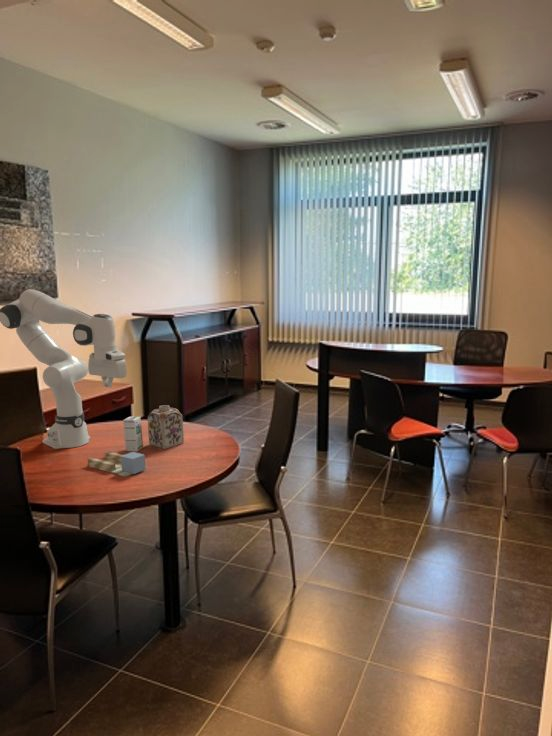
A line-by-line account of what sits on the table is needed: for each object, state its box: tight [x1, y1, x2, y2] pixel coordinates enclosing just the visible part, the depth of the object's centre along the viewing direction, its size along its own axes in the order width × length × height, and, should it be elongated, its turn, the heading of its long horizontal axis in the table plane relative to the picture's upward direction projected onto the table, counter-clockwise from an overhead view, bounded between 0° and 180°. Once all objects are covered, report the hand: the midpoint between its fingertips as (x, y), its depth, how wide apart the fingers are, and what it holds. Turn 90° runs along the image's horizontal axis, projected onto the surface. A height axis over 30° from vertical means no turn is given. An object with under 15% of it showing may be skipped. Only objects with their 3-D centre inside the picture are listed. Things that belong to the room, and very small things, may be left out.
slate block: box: [121, 451, 147, 475], centre depth 210 cm, size 7×6×6 cm
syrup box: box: [122, 415, 144, 452], centre depth 237 cm, size 6×6×14 cm
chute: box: [87, 451, 148, 477], centre depth 216 cm, size 23×11×3 cm, turn 56°
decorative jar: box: [147, 404, 185, 450], centre depth 243 cm, size 12×12×18 cm
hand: (108, 386), depth 221 cm, fingers closed
